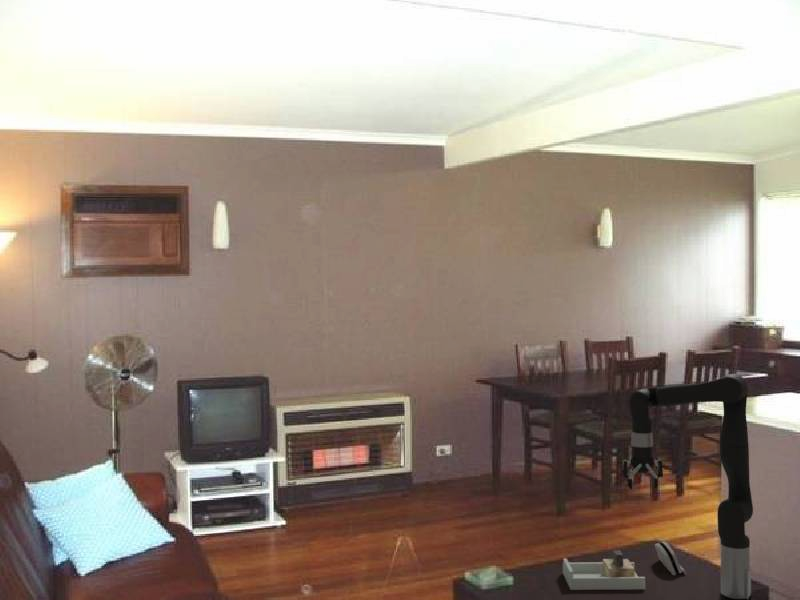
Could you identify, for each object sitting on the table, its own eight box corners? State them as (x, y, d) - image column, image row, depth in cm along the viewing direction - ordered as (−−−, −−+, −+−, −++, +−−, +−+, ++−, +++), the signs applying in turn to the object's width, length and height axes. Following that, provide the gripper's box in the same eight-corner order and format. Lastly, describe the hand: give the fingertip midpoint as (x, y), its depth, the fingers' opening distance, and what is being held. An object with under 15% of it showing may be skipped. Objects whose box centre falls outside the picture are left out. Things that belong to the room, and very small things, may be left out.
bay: (633, 572, 307) (633, 556, 307) (645, 589, 291) (645, 572, 291) (562, 573, 307) (562, 557, 307) (570, 589, 292) (570, 572, 291)
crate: (627, 572, 304) (627, 547, 303) (634, 582, 294) (634, 557, 293) (602, 572, 304) (602, 548, 304) (608, 582, 294) (608, 557, 294)
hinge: (686, 575, 303) (677, 549, 303) (674, 579, 304) (665, 554, 303) (672, 559, 320) (663, 535, 320) (661, 563, 320) (652, 539, 320)
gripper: (658, 442, 306) (659, 485, 306) (619, 442, 306) (620, 486, 306) (664, 446, 298) (665, 491, 299) (624, 446, 298) (625, 491, 299)
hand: (642, 488), depth 302 cm, fingers open, 8 cm apart
